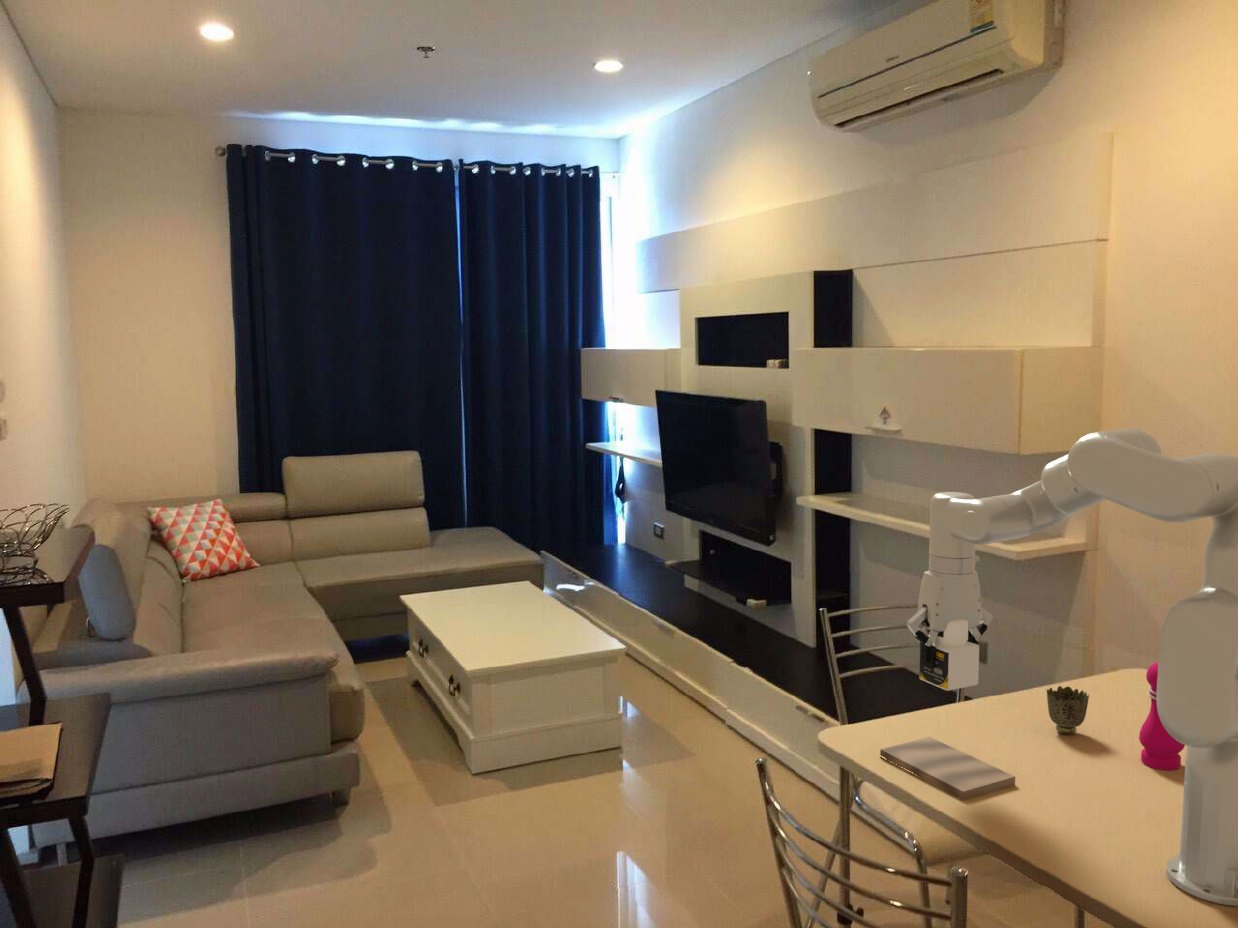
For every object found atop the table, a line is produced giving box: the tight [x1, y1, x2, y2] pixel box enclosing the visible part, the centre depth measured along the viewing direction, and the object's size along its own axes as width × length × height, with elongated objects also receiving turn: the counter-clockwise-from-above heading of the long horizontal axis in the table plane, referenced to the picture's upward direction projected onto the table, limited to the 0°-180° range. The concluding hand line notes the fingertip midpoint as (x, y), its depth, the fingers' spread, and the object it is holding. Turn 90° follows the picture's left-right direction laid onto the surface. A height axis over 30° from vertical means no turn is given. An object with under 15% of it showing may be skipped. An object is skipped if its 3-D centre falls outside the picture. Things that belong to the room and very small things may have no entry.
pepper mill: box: [1138, 661, 1186, 771], centre depth 183 cm, size 7×7×20 cm
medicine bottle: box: [918, 620, 980, 691], centre depth 179 cm, size 7×7×12 cm
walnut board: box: [879, 736, 1016, 801], centre depth 182 cm, size 20×12×2 cm, turn 27°
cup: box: [1046, 685, 1090, 736], centre depth 198 cm, size 8×7×8 cm
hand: (949, 663), depth 180 cm, fingers closed on medicine bottle, 7 cm apart
